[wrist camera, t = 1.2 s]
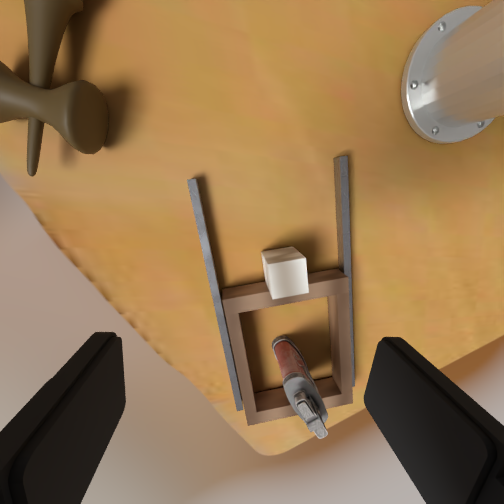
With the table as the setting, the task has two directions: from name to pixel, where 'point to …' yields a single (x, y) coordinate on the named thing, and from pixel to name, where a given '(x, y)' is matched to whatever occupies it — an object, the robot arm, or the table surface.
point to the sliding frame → (284, 292)
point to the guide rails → (343, 259)
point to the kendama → (52, 100)
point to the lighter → (300, 386)
